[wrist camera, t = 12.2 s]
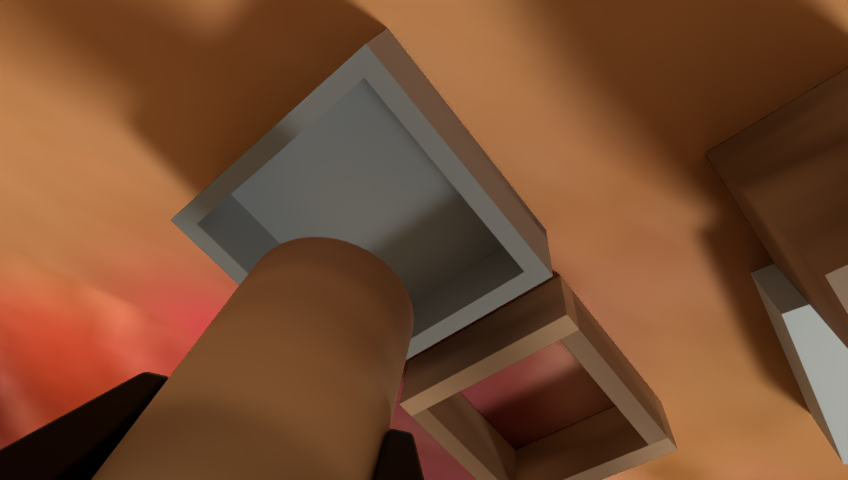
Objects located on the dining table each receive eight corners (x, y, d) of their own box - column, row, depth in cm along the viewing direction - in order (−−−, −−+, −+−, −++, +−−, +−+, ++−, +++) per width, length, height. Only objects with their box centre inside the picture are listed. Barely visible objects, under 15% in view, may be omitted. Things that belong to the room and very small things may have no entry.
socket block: (511, 466, 20) (512, 514, 19) (409, 361, 19) (399, 404, 17) (661, 401, 18) (677, 450, 16) (559, 275, 16) (566, 314, 15)
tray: (369, 338, 18) (351, 391, 16) (214, 183, 16) (170, 219, 14) (545, 230, 16) (552, 275, 14) (387, 27, 14) (365, 43, 11)
